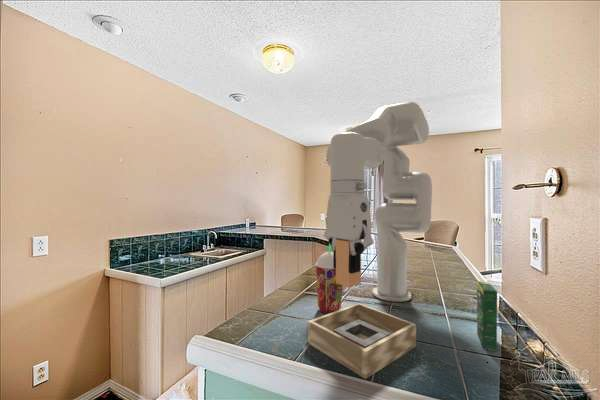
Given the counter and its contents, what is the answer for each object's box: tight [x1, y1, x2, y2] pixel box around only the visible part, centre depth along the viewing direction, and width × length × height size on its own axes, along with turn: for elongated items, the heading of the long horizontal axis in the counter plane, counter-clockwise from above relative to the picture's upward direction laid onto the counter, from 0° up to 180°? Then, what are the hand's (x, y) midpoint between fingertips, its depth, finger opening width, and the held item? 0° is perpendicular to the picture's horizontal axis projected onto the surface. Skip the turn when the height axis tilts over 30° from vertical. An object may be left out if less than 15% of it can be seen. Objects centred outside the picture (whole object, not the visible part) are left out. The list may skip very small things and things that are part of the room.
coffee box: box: [476, 281, 498, 352], centre depth 64 cm, size 8×3×13 cm, turn 155°
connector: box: [336, 239, 362, 288], centre depth 63 cm, size 4×4×11 cm
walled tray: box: [307, 302, 417, 380], centre depth 62 cm, size 18×16×5 cm
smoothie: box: [315, 242, 344, 315], centre depth 81 cm, size 8×8×20 cm
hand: (346, 269), depth 63 cm, fingers closed on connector, 4 cm apart
